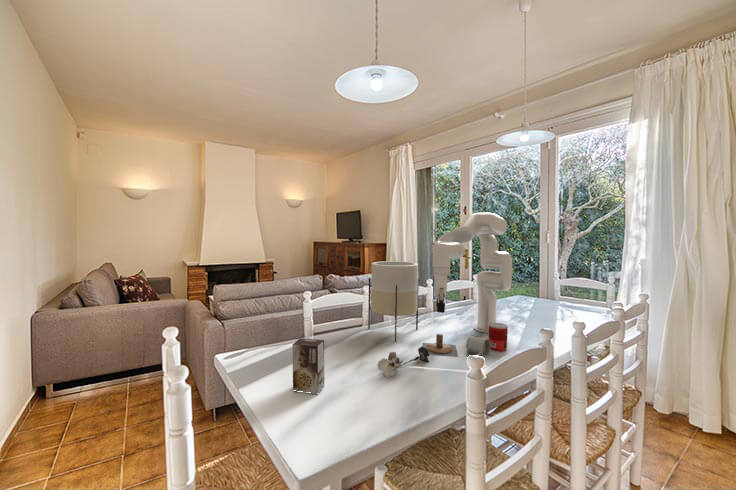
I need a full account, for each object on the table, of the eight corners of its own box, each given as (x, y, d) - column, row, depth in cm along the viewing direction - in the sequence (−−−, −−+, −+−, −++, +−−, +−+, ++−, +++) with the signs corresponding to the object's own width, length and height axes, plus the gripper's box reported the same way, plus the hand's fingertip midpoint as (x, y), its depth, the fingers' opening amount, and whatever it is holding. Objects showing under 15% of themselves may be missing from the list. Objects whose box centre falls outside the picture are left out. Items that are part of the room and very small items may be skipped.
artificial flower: (433, 369, 136) (436, 348, 132) (385, 387, 125) (386, 365, 122) (419, 356, 143) (422, 335, 139) (372, 372, 132) (374, 350, 129)
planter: (410, 345, 159) (412, 267, 157) (356, 338, 168) (357, 264, 166) (420, 329, 184) (422, 262, 182) (373, 324, 193) (374, 260, 191)
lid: (426, 344, 158) (427, 330, 158) (451, 346, 156) (451, 332, 156) (426, 352, 147) (427, 337, 147) (453, 354, 146) (453, 339, 145)
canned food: (508, 352, 151) (509, 327, 150) (489, 351, 152) (490, 326, 152) (505, 346, 158) (505, 323, 158) (487, 345, 160) (487, 322, 159)
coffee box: (325, 386, 116) (325, 339, 116) (318, 395, 110) (318, 345, 109) (300, 383, 119) (300, 337, 118) (291, 392, 112) (291, 343, 112)
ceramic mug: (473, 349, 154) (473, 333, 153) (490, 354, 148) (491, 337, 148) (461, 356, 146) (461, 338, 146) (479, 361, 140) (479, 343, 140)
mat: (422, 344, 161) (422, 342, 161) (455, 346, 158) (455, 345, 158) (421, 355, 146) (421, 354, 146) (458, 358, 143) (458, 356, 143)
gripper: (432, 268, 159) (431, 305, 160) (433, 273, 142) (432, 314, 143) (449, 269, 158) (448, 305, 159) (451, 273, 141) (450, 315, 142)
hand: (440, 309), depth 151 cm, fingers open, 9 cm apart
